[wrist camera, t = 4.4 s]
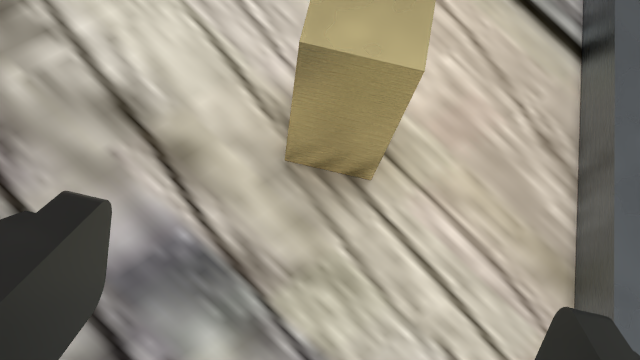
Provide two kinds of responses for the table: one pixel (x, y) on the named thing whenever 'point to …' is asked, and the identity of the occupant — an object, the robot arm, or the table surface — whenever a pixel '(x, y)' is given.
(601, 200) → the rack rail
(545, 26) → the table surface
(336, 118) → the brass peg
